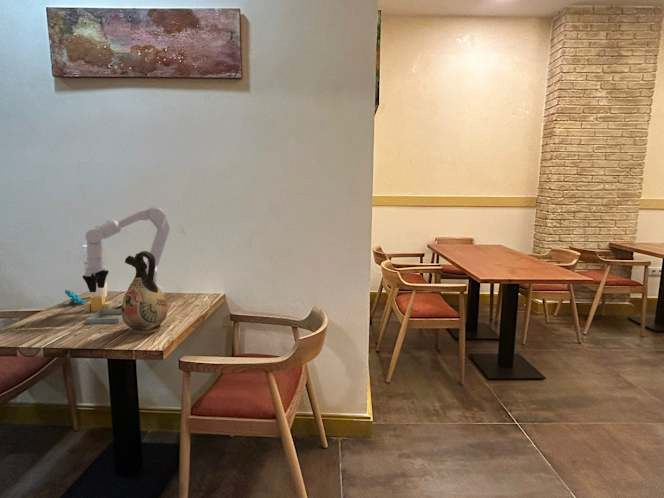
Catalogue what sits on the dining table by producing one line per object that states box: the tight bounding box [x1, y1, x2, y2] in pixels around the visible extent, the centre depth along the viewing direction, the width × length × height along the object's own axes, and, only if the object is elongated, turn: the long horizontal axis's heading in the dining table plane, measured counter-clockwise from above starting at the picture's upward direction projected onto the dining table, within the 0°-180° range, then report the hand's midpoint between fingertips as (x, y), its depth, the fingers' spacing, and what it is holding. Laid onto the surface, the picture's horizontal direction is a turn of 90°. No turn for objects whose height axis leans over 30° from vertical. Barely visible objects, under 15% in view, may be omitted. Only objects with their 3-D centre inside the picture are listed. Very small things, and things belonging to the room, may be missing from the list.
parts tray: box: [85, 308, 124, 327], centre depth 159 cm, size 12×12×2 cm
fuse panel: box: [77, 301, 119, 315], centre depth 170 cm, size 12×10×4 cm
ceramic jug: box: [121, 250, 169, 335], centre depth 146 cm, size 17×15×30 cm
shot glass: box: [91, 281, 108, 298], centre depth 193 cm, size 7×7×7 cm
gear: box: [64, 289, 86, 306], centre depth 178 cm, size 11×6×10 cm
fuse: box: [89, 294, 106, 311], centre depth 170 cm, size 4×3×6 cm, turn 97°
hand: (97, 289), depth 169 cm, fingers open, 7 cm apart
